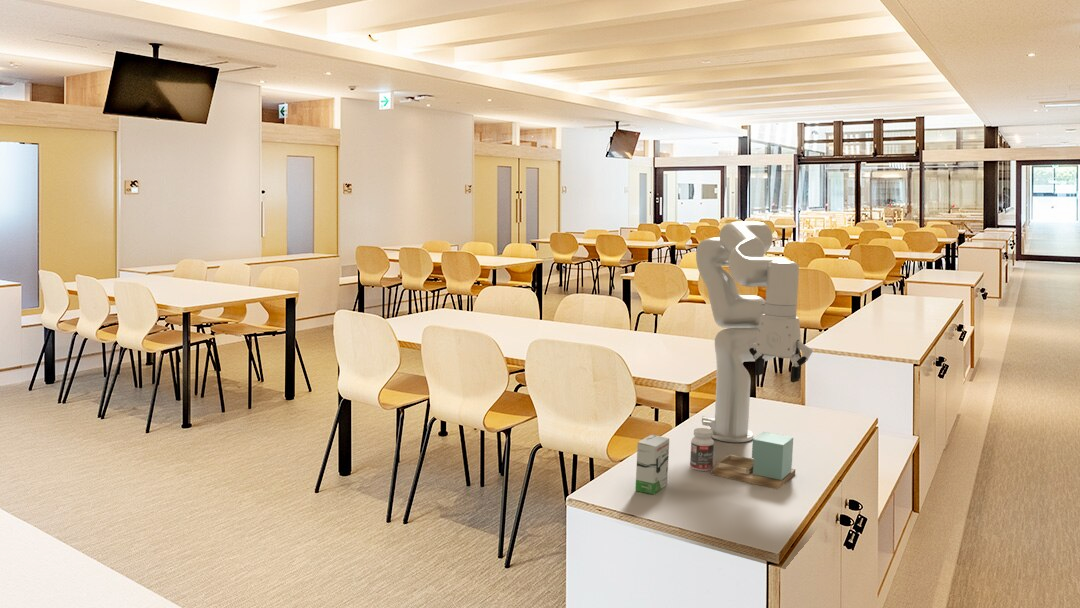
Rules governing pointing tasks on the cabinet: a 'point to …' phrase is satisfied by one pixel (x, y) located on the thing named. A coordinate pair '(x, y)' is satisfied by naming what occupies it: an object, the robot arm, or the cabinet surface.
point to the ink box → (652, 464)
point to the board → (746, 472)
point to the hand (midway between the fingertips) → (776, 378)
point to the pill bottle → (702, 450)
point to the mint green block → (772, 455)
